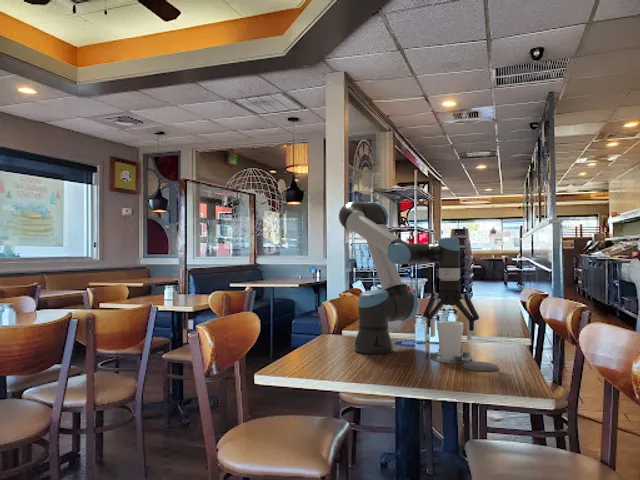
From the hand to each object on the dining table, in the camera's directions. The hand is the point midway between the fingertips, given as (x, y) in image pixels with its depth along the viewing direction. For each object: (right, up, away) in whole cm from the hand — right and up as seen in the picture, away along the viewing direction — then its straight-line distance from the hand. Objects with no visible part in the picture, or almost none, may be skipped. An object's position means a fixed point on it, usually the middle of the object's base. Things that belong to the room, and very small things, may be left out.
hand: (450, 338), depth 177 cm
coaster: (+6, -7, -13) cm, 16 cm away
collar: (0, -8, 0) cm, 8 cm away
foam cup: (0, -8, 0) cm, 8 cm away
